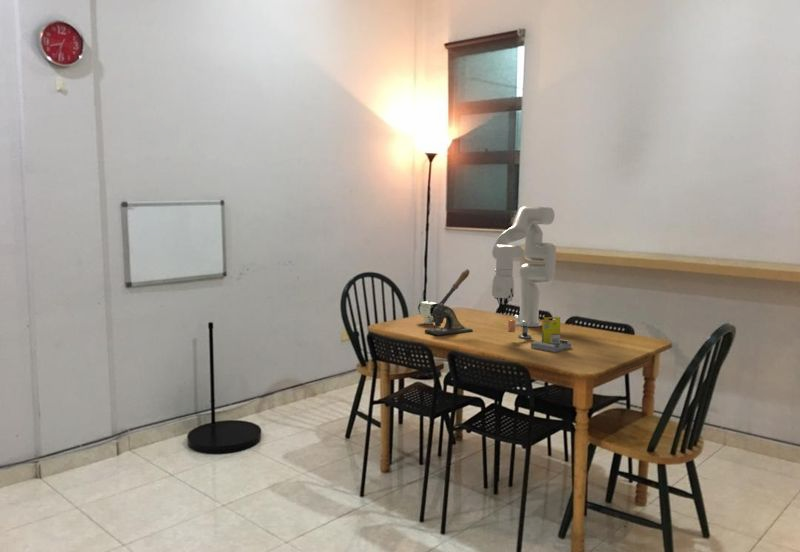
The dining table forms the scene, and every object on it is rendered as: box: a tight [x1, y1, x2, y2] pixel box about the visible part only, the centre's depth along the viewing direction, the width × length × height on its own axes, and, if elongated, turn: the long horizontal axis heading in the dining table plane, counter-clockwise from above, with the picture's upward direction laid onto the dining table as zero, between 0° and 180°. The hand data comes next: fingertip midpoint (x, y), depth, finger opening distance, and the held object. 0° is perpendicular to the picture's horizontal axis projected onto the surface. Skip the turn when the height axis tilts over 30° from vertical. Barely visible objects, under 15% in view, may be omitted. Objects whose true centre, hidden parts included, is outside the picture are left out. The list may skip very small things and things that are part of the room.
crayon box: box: [541, 316, 561, 344], centre depth 283 cm, size 7×3×12 cm, turn 90°
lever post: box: [517, 326, 532, 340], centre depth 305 cm, size 6×6×6 cm
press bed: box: [530, 338, 572, 354], centre depth 284 cm, size 12×13×3 cm
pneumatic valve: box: [417, 300, 439, 325], centre depth 335 cm, size 6×12×12 cm, turn 42°
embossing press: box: [424, 268, 474, 336], centre depth 314 cm, size 11×24×30 cm, turn 124°
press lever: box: [507, 319, 530, 333], centre depth 300 cm, size 4×15×5 cm, turn 136°
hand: (502, 312), depth 301 cm, fingers closed
